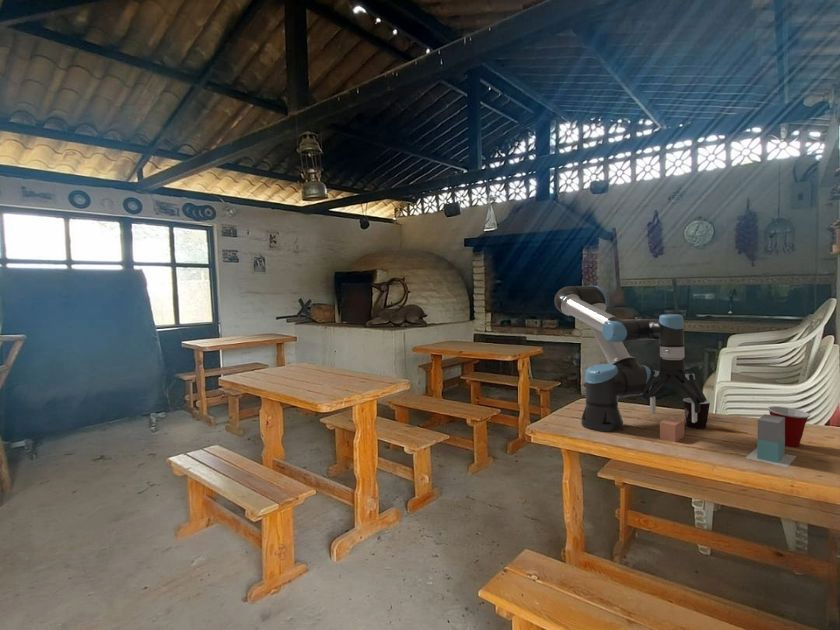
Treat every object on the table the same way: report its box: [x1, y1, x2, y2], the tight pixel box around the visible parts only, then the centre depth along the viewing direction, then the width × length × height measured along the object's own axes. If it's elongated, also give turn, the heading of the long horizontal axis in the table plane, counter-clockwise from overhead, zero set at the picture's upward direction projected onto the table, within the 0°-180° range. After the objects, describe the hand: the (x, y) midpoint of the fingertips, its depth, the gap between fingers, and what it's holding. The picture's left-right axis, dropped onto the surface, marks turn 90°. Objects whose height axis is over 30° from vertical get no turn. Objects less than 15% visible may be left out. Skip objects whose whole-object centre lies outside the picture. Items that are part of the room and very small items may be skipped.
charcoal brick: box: [757, 414, 785, 443], centre depth 134 cm, size 5×8×6 cm, turn 130°
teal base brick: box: [756, 437, 786, 463], centre depth 134 cm, size 5×8×6 cm, turn 129°
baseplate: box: [745, 447, 797, 468], centre depth 135 cm, size 10×12×1 cm
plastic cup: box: [767, 405, 812, 448], centre depth 144 cm, size 11×11×12 cm
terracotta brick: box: [659, 417, 685, 443], centre depth 156 cm, size 5×8×6 cm, turn 129°
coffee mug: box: [682, 397, 711, 430], centre depth 168 cm, size 12×9×10 cm
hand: (673, 418), depth 155 cm, fingers open, 13 cm apart
